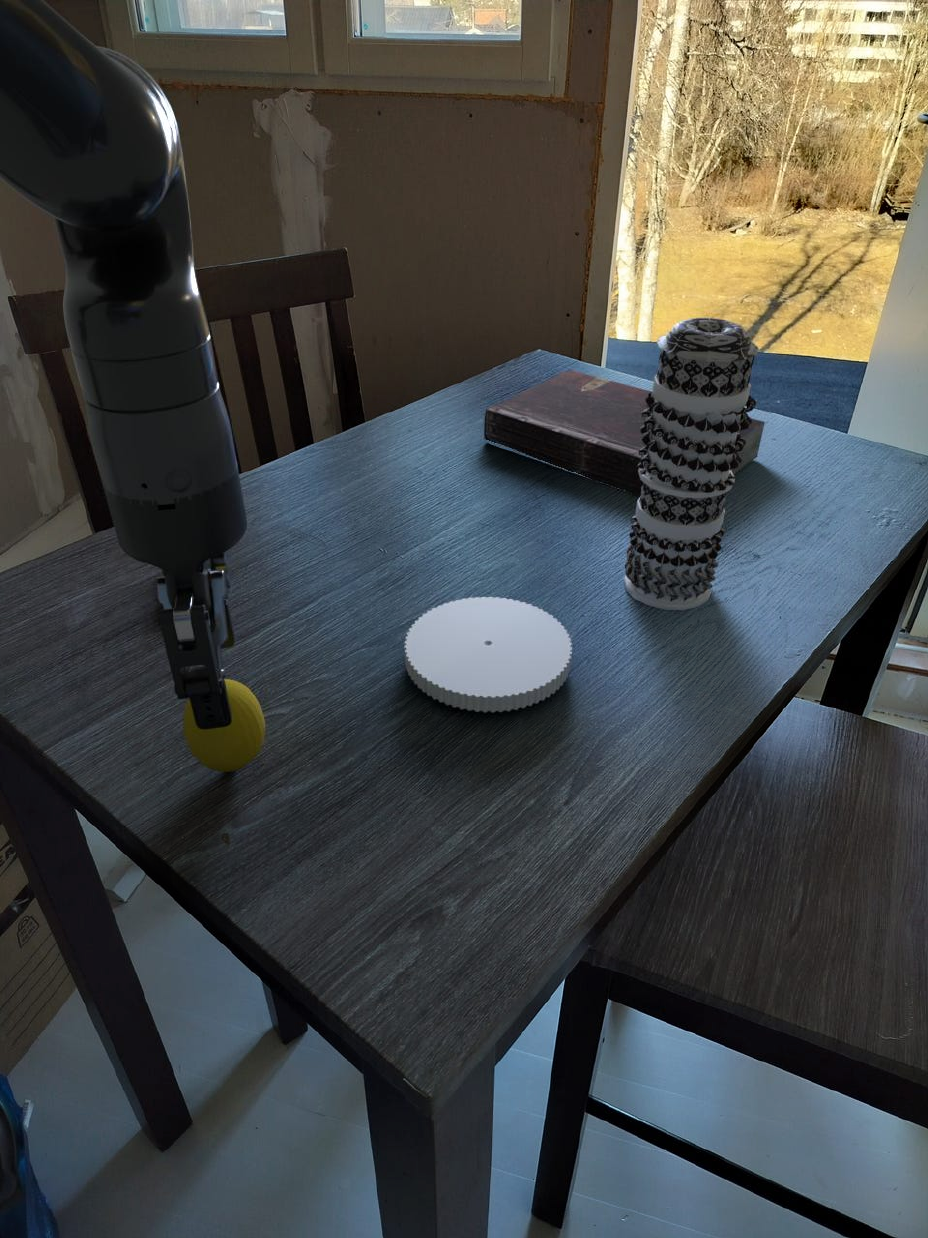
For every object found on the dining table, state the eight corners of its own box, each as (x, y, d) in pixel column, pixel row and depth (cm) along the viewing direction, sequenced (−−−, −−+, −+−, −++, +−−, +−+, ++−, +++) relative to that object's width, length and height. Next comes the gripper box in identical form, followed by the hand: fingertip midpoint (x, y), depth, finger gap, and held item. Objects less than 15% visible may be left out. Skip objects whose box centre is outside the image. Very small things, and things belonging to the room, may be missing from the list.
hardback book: (483, 443, 111) (484, 407, 108) (566, 403, 122) (569, 369, 119) (683, 513, 95) (691, 472, 92) (756, 459, 107) (764, 421, 104)
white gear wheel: (493, 602, 81) (494, 579, 79) (604, 672, 72) (607, 649, 70) (372, 660, 73) (371, 637, 72) (480, 747, 64) (480, 722, 63)
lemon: (180, 787, 61) (158, 702, 56) (216, 735, 65) (198, 653, 61) (251, 801, 60) (234, 715, 55) (283, 747, 64) (270, 664, 60)
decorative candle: (716, 618, 78) (775, 348, 64) (615, 605, 80) (650, 338, 66) (716, 568, 86) (768, 314, 71) (623, 556, 87) (656, 306, 73)
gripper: (117, 423, 54) (169, 629, 63) (80, 532, 42) (150, 764, 52) (238, 413, 55) (272, 618, 64) (233, 517, 44) (275, 747, 53)
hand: (217, 683), depth 58 cm, fingers open, 8 cm apart
